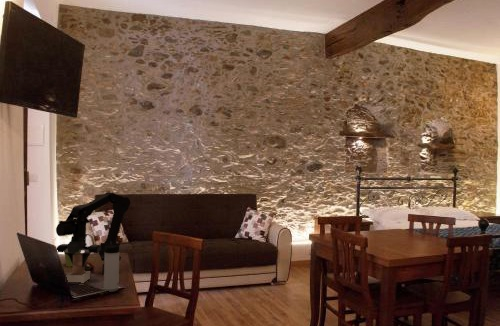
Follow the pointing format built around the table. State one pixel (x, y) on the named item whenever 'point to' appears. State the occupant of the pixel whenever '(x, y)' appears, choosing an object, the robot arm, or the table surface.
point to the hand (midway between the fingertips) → (78, 266)
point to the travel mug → (111, 267)
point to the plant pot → (68, 260)
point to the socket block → (78, 277)
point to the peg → (78, 264)
